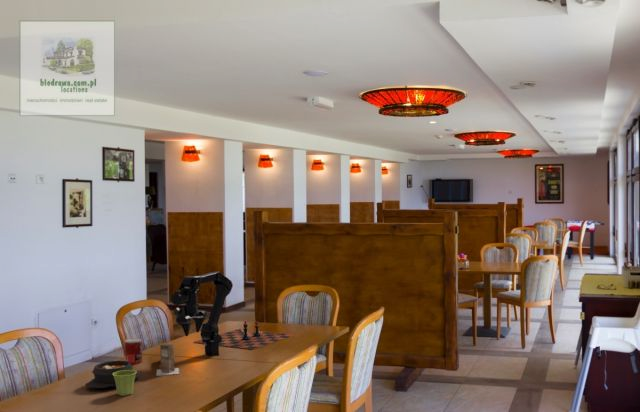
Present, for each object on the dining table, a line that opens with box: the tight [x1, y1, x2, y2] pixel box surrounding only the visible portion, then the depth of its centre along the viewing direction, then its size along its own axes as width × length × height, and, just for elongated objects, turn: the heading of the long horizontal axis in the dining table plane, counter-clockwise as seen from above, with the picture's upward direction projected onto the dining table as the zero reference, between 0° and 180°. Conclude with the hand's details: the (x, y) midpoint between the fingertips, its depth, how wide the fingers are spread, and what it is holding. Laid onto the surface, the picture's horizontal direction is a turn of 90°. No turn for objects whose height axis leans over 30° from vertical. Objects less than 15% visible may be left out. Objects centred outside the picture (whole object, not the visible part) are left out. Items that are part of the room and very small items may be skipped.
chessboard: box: [193, 320, 295, 351], centre depth 377 cm, size 40×40×11 cm
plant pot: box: [113, 369, 138, 397], centre depth 278 cm, size 9×9×9 cm
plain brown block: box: [159, 342, 176, 373], centre depth 310 cm, size 4×4×12 cm
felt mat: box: [155, 367, 180, 377], centre depth 310 cm, size 10×10×1 cm
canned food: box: [124, 337, 143, 365], centre depth 329 cm, size 8×8×11 cm
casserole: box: [84, 360, 140, 389], centre depth 293 cm, size 25×19×8 cm
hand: (192, 334), depth 330 cm, fingers open, 9 cm apart
